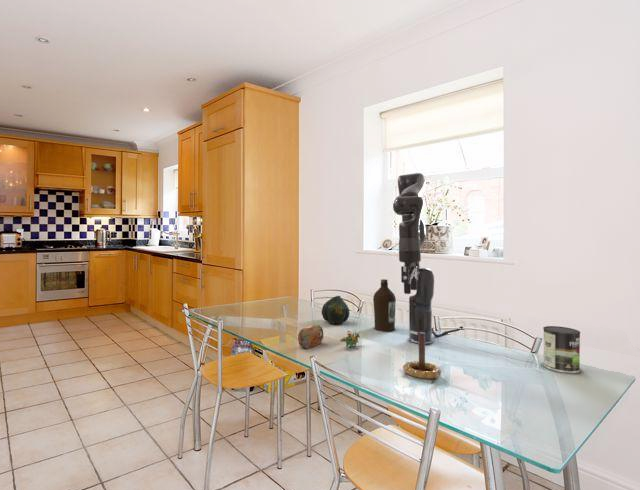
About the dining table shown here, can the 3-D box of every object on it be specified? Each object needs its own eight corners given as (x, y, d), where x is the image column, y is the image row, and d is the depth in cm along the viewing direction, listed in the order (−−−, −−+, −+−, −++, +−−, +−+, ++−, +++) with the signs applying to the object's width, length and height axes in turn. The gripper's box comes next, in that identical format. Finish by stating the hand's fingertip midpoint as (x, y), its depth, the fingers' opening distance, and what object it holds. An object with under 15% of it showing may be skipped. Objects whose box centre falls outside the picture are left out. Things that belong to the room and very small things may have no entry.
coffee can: (585, 370, 139) (585, 330, 139) (571, 375, 134) (571, 334, 134) (551, 361, 148) (552, 324, 148) (537, 366, 143) (537, 328, 143)
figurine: (362, 348, 168) (362, 329, 167) (342, 353, 161) (342, 333, 161) (357, 346, 170) (356, 327, 170) (336, 351, 164) (336, 331, 164)
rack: (412, 369, 142) (412, 328, 142) (439, 375, 137) (439, 332, 136) (404, 377, 136) (404, 333, 135) (432, 383, 130) (432, 338, 129)
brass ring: (409, 364, 144) (409, 358, 144) (444, 372, 136) (444, 365, 136) (398, 374, 135) (398, 367, 135) (435, 382, 127) (435, 375, 127)
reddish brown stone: (302, 350, 166) (302, 330, 166) (296, 348, 169) (296, 329, 168) (324, 342, 176) (323, 324, 176) (318, 341, 179) (318, 322, 178)
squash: (317, 315, 207) (336, 294, 205) (316, 310, 221) (334, 290, 220) (338, 333, 205) (357, 312, 203) (335, 327, 219) (354, 307, 218)
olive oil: (369, 329, 197) (369, 279, 197) (379, 325, 205) (379, 277, 204) (390, 333, 190) (389, 281, 189) (399, 328, 197) (399, 279, 197)
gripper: (404, 247, 156) (405, 288, 156) (393, 250, 145) (394, 294, 145) (425, 247, 151) (426, 289, 152) (414, 251, 140) (416, 295, 140)
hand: (410, 291), depth 148 cm, fingers open, 8 cm apart
